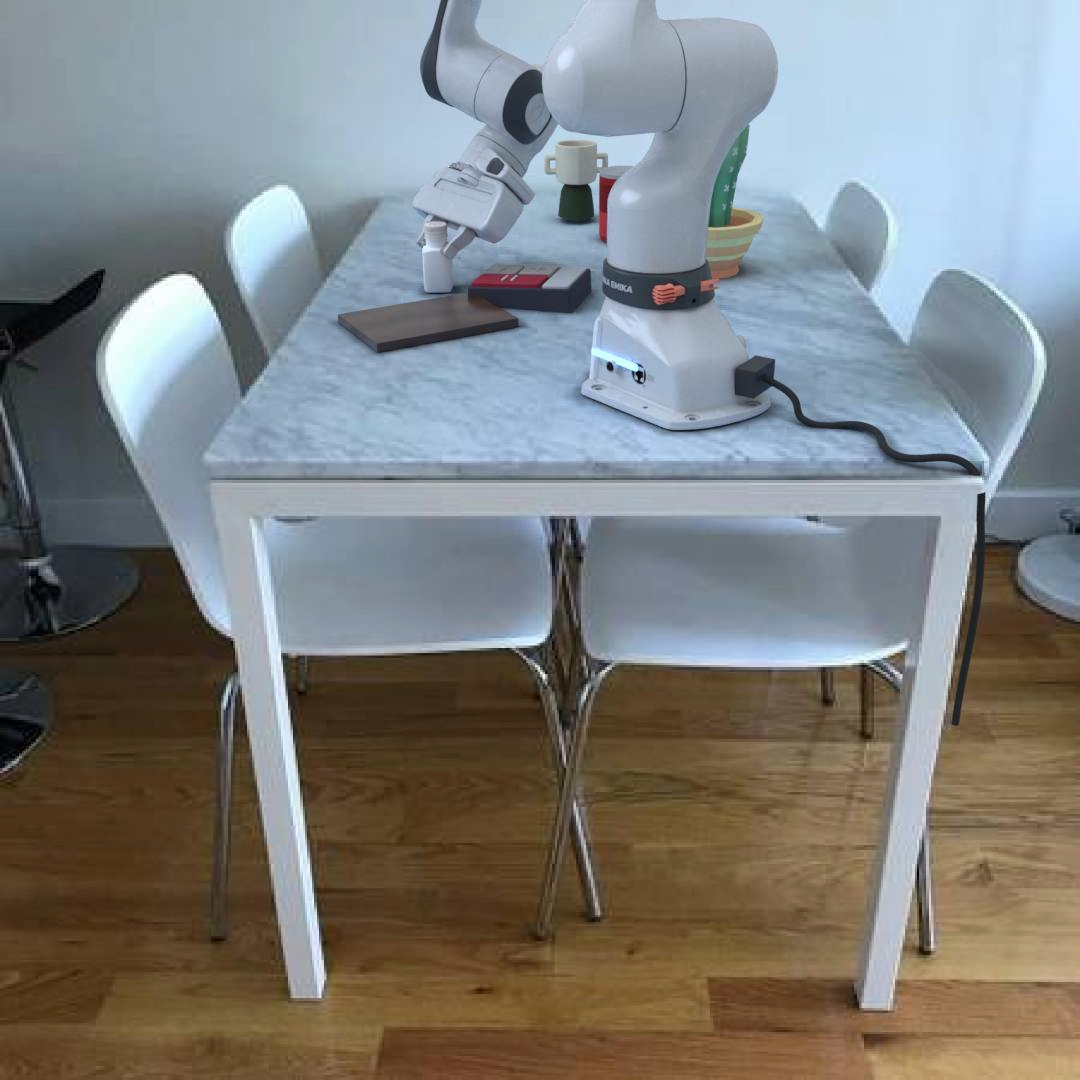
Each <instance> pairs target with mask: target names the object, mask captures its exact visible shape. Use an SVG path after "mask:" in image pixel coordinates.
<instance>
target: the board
mask: <svg viewBox="0 0 1080 1080" xmlns="http://www.w3.org/2000/svg"><path fill="white" fill-rule="evenodd" d="M337 322H338V324H339V325H340V326H342V327H343V328H344V329H346V330H347V331H348V332H350V333H351V334H352V335H354V336H355V337H356V338H358V339H359V340H360V341H362V342H363V343H364V344H365V345H367V346H368V347H369V348H370V349H372V350H374V351H375V352H376V353H383V352H389V351H393V350H398V349H399V350H400V349H404V348H410V347H415V346H421V345H426V344H432V343H437V342H444V341H448V340H454V339H458V338H465V337H470V336H475V335H481V334H486V333H487V334H488V333H492V332H497V331H502V330H508V329H513V328H519V327H520V326H519V324H520V323H519V317H517V316H516V315H514V314H512V313H511V312H508V311H507V310H505V309H504V308H500V307H498V306H496V305H494V304H493V303H491V302H489V301H487V300H486V299H484V298H479V297H469V296H468V292H463V293H458V294H452V295H445V296H439V297H433V298H426V299H422V300H416V301H408V302H404V303H397V304H390V305H386V306H380V307H373V308H368V309H362V310H357V311H349V312H344V313H338V314H337Z"/></svg>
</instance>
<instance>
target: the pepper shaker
mask: <svg viewBox="0 0 1080 1080" xmlns="http://www.w3.org/2000/svg"><path fill="white" fill-rule="evenodd" d="M423 224H424V223H423ZM424 232H425V238H426V245H425V246H423V249H422V248H421V249H422V250H421V255H422V256H421V257H422V273H423V289H424V291H425V292H426V293H428V294H439V293H440V294H442V293H443V294H444V293H447V294H448V293H451V292H452V290H453V286H454V272H453V271H454V270H453V260H451V259H448V258H446V257H444V256H443V255H442V254H441V253H440V249H441V248H442V247H443V245H444V243H445V242H448V227H447V224H446V223H445V222H440V221H434V222H428V223H425V224H424Z"/></svg>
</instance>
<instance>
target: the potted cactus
mask: <svg viewBox="0 0 1080 1080" xmlns="http://www.w3.org/2000/svg"><path fill="white" fill-rule="evenodd" d="M750 128H751V125H750V123H749V124H748V125H747V126H746V127H745V129H744V130H743V131H742V132H741V133H740V135H739V136H738V137H737V139H736V140H735V142H734V143H733V145H732V146H731V148H730V150H729V152H728V153H727V155H726V157H725V159H724V161H723V163H722V166H721V168H720V170H719V173H718V175H717V178H716V181H715V185H714V188H713V193H712V198H711V205H710V214H709V223H708V235H707V248H706V259H707V260H708V262H709V265H710V270H711V272H712V277H713V279H727V278H730V277H734V276H737V275H738V273H739V272H740V267H739V263H740V262H741V261H742V260H743V259H744V257H745V256H746V254H747V253H748V251H749V249H750V247H751V245H752V243H753V240H754V237H755V235H756V234H757V235H758V234H759V232H760V230H761V228H762V226H763V222H764V221H765V220H764V219H765V216H763V215H762V214H760V213H758V212H757V211H754V210H751V209H746V208H741V207H735V206H733V205H734V204H733V203H734V199H735V193H736V188H737V182H738V175H739V173H740V170H741V169H742V166H743V164H744V161H745V160H746V156H747V152H748V143H749V135H750Z"/></svg>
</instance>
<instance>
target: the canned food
mask: <svg viewBox="0 0 1080 1080" xmlns="http://www.w3.org/2000/svg"><path fill="white" fill-rule="evenodd" d="M634 166H635V165H612V166H608V167H605V168H603V169H601V170H600V173H598V174H599V175H598V176H599V178H598V179H599V180H598V192H599V193H598V234H599V239H600V240H601V241H602V242H604V243H607V203H608V196H609V193H610V191H611V189H612V187H613V185H614V183H615V182H616V181H617V179H618V178H619V177H620V176H621V175H623V174H624V173H625V172H627V171H628V170H630V169H631V168H633V167H634Z"/></svg>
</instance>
